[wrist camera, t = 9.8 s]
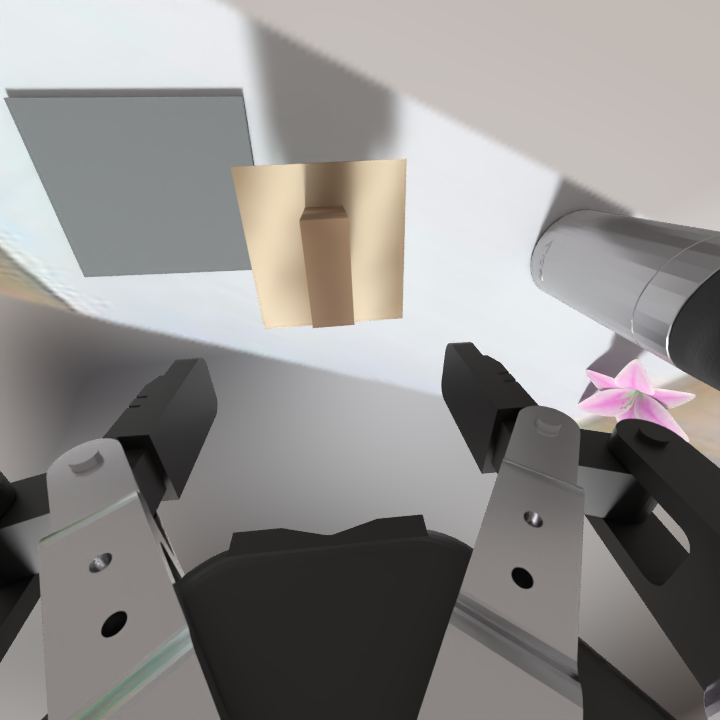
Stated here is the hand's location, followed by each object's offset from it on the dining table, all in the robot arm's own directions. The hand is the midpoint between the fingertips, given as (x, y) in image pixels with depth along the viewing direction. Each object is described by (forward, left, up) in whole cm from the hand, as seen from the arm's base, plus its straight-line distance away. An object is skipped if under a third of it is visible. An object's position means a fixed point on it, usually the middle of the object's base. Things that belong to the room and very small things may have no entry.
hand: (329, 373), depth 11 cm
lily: (-38, +21, -26) cm, 51 cm away
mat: (+15, -4, -26) cm, 30 cm away
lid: (0, -1, -16) cm, 16 cm away
